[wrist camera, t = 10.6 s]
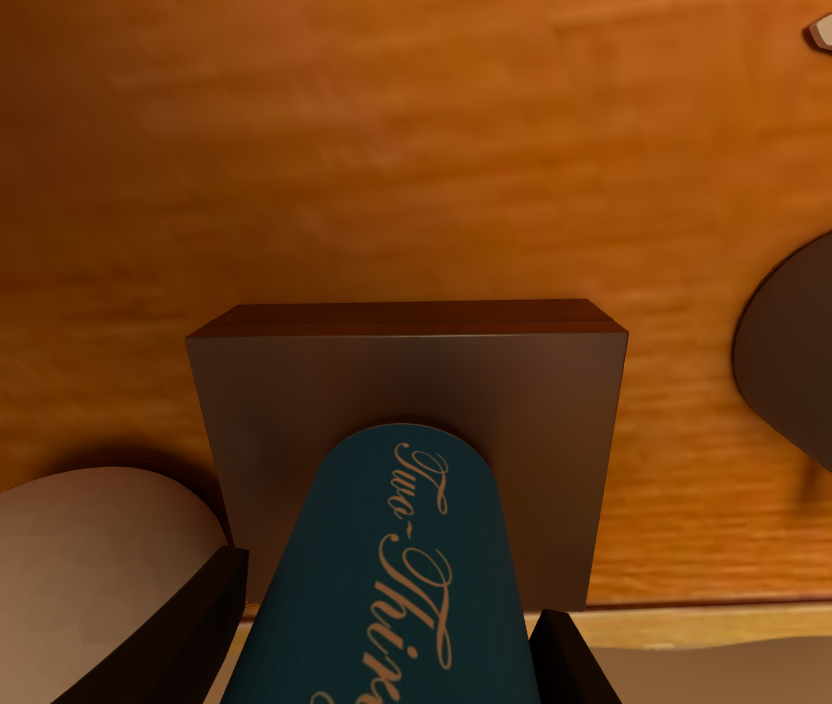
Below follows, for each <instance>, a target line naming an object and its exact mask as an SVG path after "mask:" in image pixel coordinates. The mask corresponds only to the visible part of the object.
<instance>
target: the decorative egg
mask: <svg viewBox="0 0 832 704" xmlns="http://www.w3.org/2000/svg"><path fill="white" fill-rule="evenodd" d="M224 545H227V546H228V544H227V540H226V537H225V535H224V532H223V530H222V527H221V525H220V523H219V521H218V519H217V517H216V516H215V515H214V513H213V512H212V511H211V509H210V508H209V507H208V506H207V505H206V504H205V502H204V501H203V500H201V499H200V498H199V497H198V496H197V495H196V494H194V493H193V492H192V491H191V490H189V489H188V488H186V487H185V486H183V485H182V484H180V483H179V482H177V481H175V480H173V479H171V478H168V477H166V476H163V475H161V474H158V473H155V472H152V471H148V470H144V469H138V468H131V467H96V468H87V469H79V470H73V471H68V472H64V473H59V474H54V475H51V476H47V477H43V478H40V479H37V480H33V481H31V482H28V483H25V484H22V485H20V486H17V487H14V488H12V489H9V490H6V491H4V492H2V493H0V704H50V703H51V702H53V701H54V700H55V699H56V698H58V697H59V696H60V695H61V694H63V693H64V692H65V691H66V690H68V689H69V688H70V687H71V686H72V685H74V684H75V683H76V682H77V681H79V680H80V679H81V678H82V677H83V676H85V675H86V674H87V673H88V672H89V671H91V670H92V669H93V668H94V667H95V666H96V665H97V664H99V663H100V662H101V661H102V660H103V659H104V658H105V657H107V656H108V655H109V654H110V653H111V652H112V651H113V650H115V649H116V648H117V647H118V646H119V645H120V644H122V643H123V642H124V641H125V640H126V639H127V638H128V637H130V636H131V635H132V634H133V633H134V632H135V631H136V630H137V629H138V628H139V627H141V626H142V625H143V624H144V623H145V622H146V621H147V620H148V619H149V618H150V617H151V616H152V615H153V614H154V613H155V612H156V611H157V610H159V609H160V608H161V607H162V606H163V605H164V604H165V603H166V602H167V601H168V600H169V599H170V598H171V597H172V596H173V595H174V594H175V593H176V592H177V591H178V590H179V589H180V588H181V587H182V586H183V585H184V584H185V583H186V582H187V581H188V580H189V579H190V578H191V577H192V576H193V575H194V574H195V573H196V572H197V571H198V570H199V569H200V568H201V567H202V566H203V565H204V564H205V563H206V562H207V561H208V560H209V559H210V557H211V556H212V555H213V554H214V553H215V552H216V551H217V550H218V549H219V548H220V547H222V546H224Z"/></svg>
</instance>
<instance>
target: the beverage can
mask: <svg viewBox="0 0 832 704" xmlns="http://www.w3.org/2000/svg"><path fill="white" fill-rule="evenodd" d="M220 704H541V700H540V695H539V690H538V685H537V680H536V675H535V670H534V665H533V660H532V655H531V650H530V645H529V640H528V635H527V630H526V625H525V620H524V615H523V610H522V605H521V600H520V594H519V589H518V584H517V579H516V574H515V569H514V564H513V559H512V554H511V549H510V544H509V539H508V534H507V529H506V524H505V519H504V514H503V509H502V504H501V499H500V494H499V489H498V486H497V483H496V480H495V477H494V475H493V473H492V471H491V469H490V468H489V467H488V465H487V464H486V462H485V461H484V459H483V458H482V457H481V456H480V455H479V454H478V453H477V452H476V451H475V450H474V449H473V448H471V447H470V446H469V445H468V444H466V443H465V442H463V441H462V440H460V439H459V438H457V437H455V436H453V435H451V434H449V433H447V432H444V431H442V430H439V429H436V428H433V427H429V426H424V425H419V424H408V423H396V424H386V425H379V426H375V427H371V428H368V429H365V430H362V431H360V432H358V433H355V434H353V435H352V436H350V437H348V438H346V439H345V440H343V441H342V442H341V443H339V444H338V445H337V446H336V447H335V448H334V449H333V450H332V451H331V452H330V453H329V454H328V455H327V456H326V457H325V459H324V460H323V462H322V463H321V465H320V467H319V469H318V471H317V473H316V475H315V477H314V480H313V482H312V485H311V487H310V489H309V492H308V494H307V497H306V499H305V501H304V504H303V506H302V508H301V511H300V513H299V516H298V518H297V520H296V523H295V525H294V527H293V530H292V532H291V535H290V537H289V539H288V542H287V544H286V547H285V549H284V551H283V554H282V556H281V558H280V561H279V563H278V566H277V568H276V570H275V573H274V575H273V577H272V580H271V582H270V585H269V587H268V589H267V592H266V594H265V597H264V599H263V601H262V604H261V606H260V608H259V611H258V613H257V616H256V618H255V620H254V623H253V625H252V628H251V630H250V632H249V635H248V637H247V639H246V642H245V644H244V647H243V649H242V651H241V654H240V656H239V659H238V661H237V663H236V666H235V668H234V671H233V673H232V675H231V678H230V680H229V682H228V685H227V687H226V690H225V692H224V694H223V697H222V699H221V702H220Z"/></svg>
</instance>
